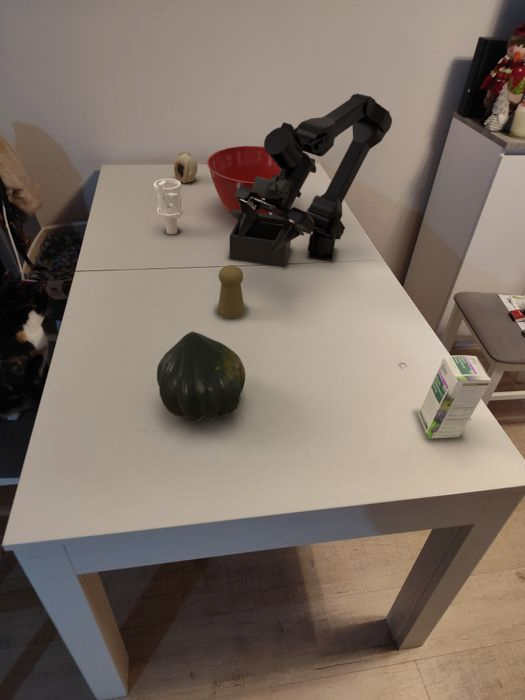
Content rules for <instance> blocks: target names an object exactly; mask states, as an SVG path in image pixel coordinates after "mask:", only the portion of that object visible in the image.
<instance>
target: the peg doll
mask: <svg viewBox="0 0 525 700" xmlns="http://www.w3.org/2000/svg"><path fill="white" fill-rule="evenodd" d="M218 279H219V282H220V283H221V284H220V290H219V291H220V292H219V299H218V307H217V314H218V315H219V316H220V317H222V318H223V319H227V320H235V319H239V318H241V317H242V316H243V315H245V303H244V297H243V291H242V283H243V279H244V273H243V270H242V268H241V267H239V266H237V265H233V264H232V265H230V264H229V265H224V266H223V267H222V268H221V269H220V270H219V271H218Z"/></svg>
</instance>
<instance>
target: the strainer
mask: <svg viewBox="0 0 525 700" xmlns="http://www.w3.org/2000/svg"><path fill="white" fill-rule="evenodd" d="M167 184H172V185H176V186H174V187H168V186H166V185H167ZM181 189H182V182H180V181H178V180H176V178H160V179H157V180H155V181H154V183H153V190H155V195H156V203H157V204H156V205H157V208H156V214H157V217H159V218H160V219H163V220H164V221H165V229H166V233H167V234H168V235H176V234H177V233H178V231H179V229H178V221H177V219H179V218H181V217H182V216H183V215H184V209H183V205H182V194H181Z"/></svg>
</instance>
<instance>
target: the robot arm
mask: <svg viewBox="0 0 525 700" xmlns="http://www.w3.org/2000/svg"><path fill="white" fill-rule="evenodd" d="M392 123H393V118H392V116H391V112H390V111H389V110H387V109H386V108H385V107H383V106H382V105H381V104H379V103H378V102H377V101H376V99H375V98H373V97H372V96H370V95H366V94H362V93H354V94H352V95H351V96H350V98H349V99H348V100H346V101H344V102H343V103H341V104H340V105H338V106H337V107H336V108H334V109H333V110H331V111H330V112H328V113H327V114H326V115H323V116H321V117H310V118H308V119H306V120H303V121H301V122H300V123H299V124H298V125H297V126H296V127H295V128H294V126H293V125H292V124H291V123H288V122H284V121H283V122H282V124H281V125H280V127H276V128H275V129H272V130H271V131H270V132H269V133H268V134H267V135H266V136H265V138H264V141H263V147H264V148H265V150H266V152H267V153H268V154H269V155H270V157H271V158H272V159H273V160H274V162H275V163H276V164H277V165H278V167H280V168H281V170H280V172H279V174H278V176H277V175H275V174H274V175H273V176H272V177H271V179H270V180H268V179H265V178H261V177H258V176H256V177H255V181H254V184H253V187H252V189H249V188H247V187H244V186H242V187H239V188H238V190H237V192H236V193H235V195H234V196H235V197H236V198H237V199H238V203H239V204H240V206H241V220H240V226H239V232H238V237H240V238H242V237H243V236H244V235H245V233H246V232H247V231H248V229H249V228H250V226H251V225H252V223H253V222H254V220H255V219H256V218H257V216H258V215H259V214H258V213H257V212H256V211H258V210H260V209H261V208H262V209H264V210H266V211H269V212H271V213H273V214H276V215H278V216H280V217H283V218H285V219H283V225H282V229H281V231H280V232H279V234H278V236H277V238H276V240H275V241H274V243H273V245H272V247H271V249H270V252H271V253H272V254H273V253H274V252H276V251H277V250H278V249H280V248H281V247H282V246H284V245H285V244H286V243H288V242H289V241H291V242H292V241H293V240H294V239H296V238H297V237H299V236H304V235H305V234H307V235H309V238H308V247H307V252H308V256H307V257H308V258H311V259H317V260H318V259H319V260H326V261H333V260H334V253H335V249H336V248H335V245H336V240H338V241H339V240H341V238H342V236H343V235H344V233H345V229H346V227H345V225H344V223H343V222H342V221H341V220H342V217H343V202H344V200H345V198H346V196H347V194H348V192H349V190H350V188H351V187H352V185H353V182H354V181H355V179H356V177H357V175H358V173H359V171H360V169H361V167H362V165H363V163H364V161H365V159H366V158H367V155H368V153H369V151H370V150H371V149H372V148H374V147H375V146H377V145H379V143H381V142H382V141H383V139H384V138H385V136H386V135H387V133H388V132H389V131H390V129H391V127H392ZM351 127H352V128H351ZM350 128H351V129H352V140H351V142H350V144H349V146H348V147H347V150H346V152H345V153H344V155H343V157H342V159H341V161H340V164H339V165H338V167H337V169H336V171H335V173H334V175H333V177H332V179H331V181H330V182H329V184H328V187H327V189H326V191H325V192H324V193H323V194H321V195H320V196H319V195H317V194H316V195H315V196H314V197H313V199H312V201H311V203H310V205H309V207H308V208H307V210H306V211H305V210H302V209H300V208H298V207H295V206H293V204H294V202H295V200H296V198H298V199H300V198H301V196H302V192H301V190H302V187H303V186H304V184H305V182H306V181H307V178H308V177H309V175H310V174H311V173H313V174H315V173H316V172H317V166H316V159H315V158H313V157H310V155H312V156H316V157H323V156H325V155H326V154H327V153H328V152H329V151H330V150H331V149H332V148H333V147H334V145H335V139H336V138H337V137H338V136H340V135H342V133H344V132H345V131H346V130H348V129H350ZM309 154H310V155H309ZM257 193H258V194H260V195H261V196H262V197H263V198H265V200H263V199H262V198H261V197H260V196H259V195H258V194H257ZM268 206H269V207H268ZM270 207H271V208H270ZM277 209H278V210H280V211H281V212H279V211H277ZM286 219H287V220H286ZM288 220H289V221H288Z"/></svg>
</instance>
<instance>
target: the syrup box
mask: <svg viewBox="0 0 525 700" xmlns="http://www.w3.org/2000/svg"><path fill="white" fill-rule="evenodd" d="M491 382H492V379H491V377H490V376H489V374H488V373H487V371H486V370H485V368H484V366H483V364H482V363H481V361H480V359H479V358H478V356H477V355H463V354H462V355H461V354H460V355H446V356H444V357H443V358H442V359H441V363H440V364H439V367H438V369H437V371H436V374H435V375H434V378H433V380H432V382H431V384H430V386H429V389H428V391H427V393H426V396H425V397H424V400H423V402H422V404H421V407H420V409H419V411H418V414H417V415H418V417H419V419H420V422H421V425H422V427H423V429H424V431H425V434H426V437H427V438H428V439H446V438H447V439H449V438H459V437H460V436H461V434H462V432H463V431H464V429H465V427H466V425H467V424H468V423H469V420H470V418H471V417H472V416H473V413H474V412H475V410H476V408H477V406H478V405H479V403H480V402H481V399H482V398H483V396H484V394H485V393H486V391H487V389H488V388H489V386H490V384H491Z"/></svg>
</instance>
